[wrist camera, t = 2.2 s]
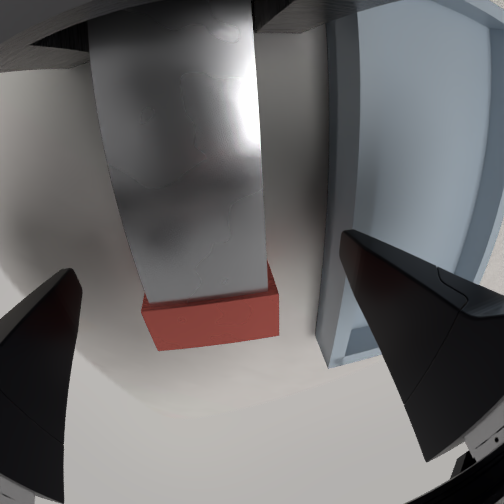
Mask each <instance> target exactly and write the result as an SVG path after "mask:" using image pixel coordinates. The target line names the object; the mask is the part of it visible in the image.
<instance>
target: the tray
mask: <svg viewBox="0 0 504 504" xmlns="http://www.w3.org/2000/svg"><path fill="white" fill-rule="evenodd" d="M326 31H327V48H328V71H329V172H328V197H327V215H326V231H325V245H324V257H323V269H322V279H321V289H320V299H319V308H318V316H317V325H316V332H315V336H316V339H317V341H318V344H319V346H320V349H321V352H322V354H323V357H324V359H325V362H326V364H327V367H328V369H329V368H333V367H337V366H341V365H345V364H349V363H353V362H356V361H360V360H364V359H367V358H371V357H374V356H378V355H381V354H382V353H381V351H380V349H379V347H378V344H377V342H376V340H375V338H374V336H373V334H372V332H371V330H370V328H369V325H368V323H367V321H366V319H365V317H364V315H363V313H362V311H361V309H360V307H359V305H358V303H357V301H356V299H355V297H354V295H353V292H352V290H351V287H350V284H349V282H348V279H347V276H346V273H345V271H344V268H343V266H342V263H341V260H340V257H339V248H340V238H341V233H342V231H344V230H350V229H355V230H357V231H359V232H362V233H364V234H367V235H369V236H371V237H374V238H376V239H378V240H381V241H383V242H385V243H387V244H390V245H392V246H394V247H397V248H399V249H401V250H403V251H405V252H408V253H410V254H412V255H414V256H416V257H419V258H421V259H423V260H425V261H427V262H429V263H432V264H434V265H436V267H440V268H442V269H444V270H446V271H449V272H451V273H453V274H455V275H457V276H459V277H462V278H464V279H466V280H468V281H471V282H473V283H475V284H478V285H479V283H480V281H481V279H482V276H483V274H484V271H485V269H486V266H487V264H488V261H489V259H490V256H491V253H492V250H493V248H494V245H495V242H496V239H497V236H498V233H499V230H500V227H501V223H502V220H503V217H504V10H503V9H502V8H500V7H499V6H497V5H496V4H494V3H493V2H491V1H490V0H401V1H397V2H392V3H388V4H385V5H381V6H377V7H374V8H370V9H367V10H363V11H360V12H357V13H354V14H351V15H348V16H345V17H342V18H339V19H336V20H333V21H330V22H328V23H326Z"/></svg>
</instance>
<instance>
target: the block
mask: <svg viewBox="0 0 504 504" xmlns="http://www.w3.org/2000/svg"><path fill="white" fill-rule="evenodd" d="M157 1H162V0H0V73H2V72H11V71H22V70H37V69H69V68H72V67H75V66H77V65H80V64H83V63H86V62H89V61H90V52H89V40H88V24H87V20H90V19H93V18H96V17H99V16H102V15H105V14H108V13H112V12H115V11H119V10H122V9H126V8H130V7H134V6H138V5H142V4H147V3H152V2H157ZM253 1H254V13H255V26H256V33H302V32H305V31H307V30H310V29H312V28H315V27H317V26H320V25H322V24H325V23H328V22H330V21H333V20H336V19H339V18H342V17H345V16H348V15H351V14H354V13H357V12H360V11H363V10H367V9H370V8H374V7H377V6H381V5H385V4H388V3H392V2H397V1H401V0H253Z"/></svg>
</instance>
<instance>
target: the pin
mask: <svg viewBox="0 0 504 504" xmlns="http://www.w3.org/2000/svg"><path fill="white" fill-rule="evenodd" d="M87 24H88V40H89V52H90V62H91V72H92V80H93V87H94V95H95V101H96V108H97V114H98V120H99V125H100V131H101V136H102V141H103V146H104V151H105V156H106V160H107V165H108V169H109V173H110V178H111V182H112V186H113V190H114V194H115V198H116V201H117V205H118V209H119V212H120V216H121V220H122V223H123V227H124V230H125V233H126V237H127V240H128V243H129V246H130V250H131V253H132V256H133V259H134V262H135V265H136V268H137V271H138V274H139V277H140V280H141V283H142V285H143V288H144V291H145V294H144V299H143V304H142V309H141V313H142V316H143V318H144V320H145V323H146V325H147V327H148V330H149V332H150V334H151V337H152V339H153V341H154V343H155V345H156V348H157V350H158V351H164V350H175V349H185V348H194V347H203V346H211V345H219V344H227V343H234V342H241V341H248V340H255V339H261V338H267V337H273V336H279V293H278V290H277V287H276V284H275V281H274V278H273V275H272V272H271V269H270V266H269V263H268V260H267V255H266V233H265V213H264V194H263V176H262V158H261V141H260V125H259V109H258V94H257V79H256V65H255V51H254V37H253V24H252V11H251V0H162V1H157V2H152V3H147V4H142V5H138V6H134V7H130V8H126V9H122V10H119V11H115V12H112V13H108V14H105V15H102V16H99V17H96V18H93V19H90V20H87Z"/></svg>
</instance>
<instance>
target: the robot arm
mask: <svg viewBox="0 0 504 504" xmlns="http://www.w3.org/2000/svg"><path fill="white" fill-rule="evenodd" d="M339 257H340V260H341V263H342V266H343V268H344V271H345V273H346V276H347V279H348V282H349V284H350V287H351V290H352V292H353V295H354V297H355V299H356V301H357V303H358V305H359V307H360V309H361V311H362V313H363V315H364V317H365V319H366V321H367V323H368V325H369V328H370V330H371V332H372V334H373V336H374V338H375V340H376V342H377V344H378V347H379V349H380V351H381V353H382V355H383V358H384V360H385V362H386V364H387V366H388V369H389V371H390V373H391V376H392V378H393V380H394V382H395V385H396V387H397V389H398V392H399V394H400V396H401V399H402V401H403V404H405V405H404V407H405V409H406V411H407V414H408V416H409V419H410V421H411V424H412V427H413V429H414V432H415V434H416V437H417V439H418V442H419V445H420V448H421V450H422V453H423V456H424V459H425V461H426V462H429V461H430V460H433V459H435V458H436V457H438V456H440V455H442V454H444V453H446V452H447V451H449V450H451V449H453V448H454V447H456V446H458V445H459V444H461V443H462V442H464V441H465V443H466V445H467V447H468V449H469V451H468V452H466V453H465V454H463V455H462V456H460V457H459V458H458V459H457V461H456V464H455V467H454V470H453V472H452V475H451V478H450V480H448V481H447V482H445V483H443V484H441V485H440V486H438V487H436V488H435V489H432V490H431V491H429V492H427V493H425V494H423V495H421V496H419V497H417V498H415V499H413V500H411V501H409V502H407V503H405V504H504V295H501V294H499V293H496V292H494V291H492V290H489V289H487V288H485V287H483V286H480V285H478V284H475V283H473V282H471V281H468V280H466V279H464V278H462V277H459V276H457V275H455V274H453V273H451V272H449V271H446V270H444V269H442V268H440V267H436V265H434V264H432V263H429V262H427V261H425V260H423V259H421V258H419V257H416V256H414V255H412V254H410V253H408V252H405V251H403V250H401V249H399V248H397V247H394V246H392V245H390V244H387V243H385V242H383V241H381V240H378V239H376V238H374V237H371V236H369V235H367V234H364V233H362V232H359V231H357V230H355V229H350V230H344V231H342V233H341V238H340V248H339ZM81 301H82V287H81V285H80V283H79V280H78V278H77V276H76V274H75V272H74V270H73V269H72V268H66V269H61V270H60V271H59V272H57V273H56V274H55V275H53V276H52V277H51V278H49V279H48V280H47V281H46V282H44V283H43V284H42V285H41V286H39V287H38V288H37V289H36V290H34V291H33V292H32V293H31V294H29V295H28V296H27V297H26V298H24V299H23V300H22V301H21V302H20V303H18V304H17V305H16V306H15V307H14V308H13V309H12V310H10V311H9V312H8V313H7V314H6V315H4V316H3V317H2V318H1V319H0V504H34V501H35V496H38V497H41V498H44V499H48V500H51V501H55V502H58V503H62V504H64V482H63V481H64V480H63V479H64V477H63V459H64V458H63V457H64V445H63V444H64V430H65V417H66V406H67V397H68V389H69V381H70V374H71V367H72V360H73V355H74V349H75V344H76V339H77V333H78V326H79V317H80V309H81Z"/></svg>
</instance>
